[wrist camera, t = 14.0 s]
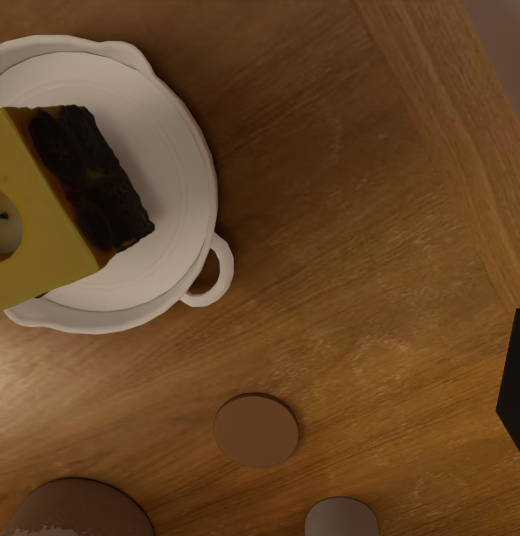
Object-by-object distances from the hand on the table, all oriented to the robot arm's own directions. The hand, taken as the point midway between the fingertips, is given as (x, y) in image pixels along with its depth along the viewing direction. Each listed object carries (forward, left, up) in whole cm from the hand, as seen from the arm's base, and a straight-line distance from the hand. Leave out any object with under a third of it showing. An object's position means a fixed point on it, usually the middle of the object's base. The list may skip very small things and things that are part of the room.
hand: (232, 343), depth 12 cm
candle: (+2, -16, -25) cm, 30 cm away
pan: (+2, -16, -29) cm, 33 cm away
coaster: (+24, -2, -29) cm, 37 cm away
